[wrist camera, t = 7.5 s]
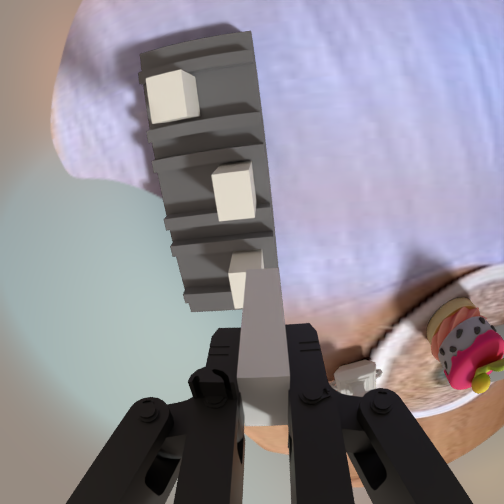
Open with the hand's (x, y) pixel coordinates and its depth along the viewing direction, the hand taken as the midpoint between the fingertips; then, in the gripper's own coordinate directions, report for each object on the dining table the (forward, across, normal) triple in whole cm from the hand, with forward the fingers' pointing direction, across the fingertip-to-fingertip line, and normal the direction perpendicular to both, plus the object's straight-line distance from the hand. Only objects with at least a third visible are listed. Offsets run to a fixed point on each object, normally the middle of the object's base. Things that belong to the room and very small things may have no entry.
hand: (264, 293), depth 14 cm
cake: (+20, +30, -21) cm, 42 cm away
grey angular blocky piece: (+20, +13, -29) cm, 38 cm away
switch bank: (+19, -5, +2) cm, 20 cm away
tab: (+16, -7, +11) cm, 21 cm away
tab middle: (+16, -2, +2) cm, 16 cm away
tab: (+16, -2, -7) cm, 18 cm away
